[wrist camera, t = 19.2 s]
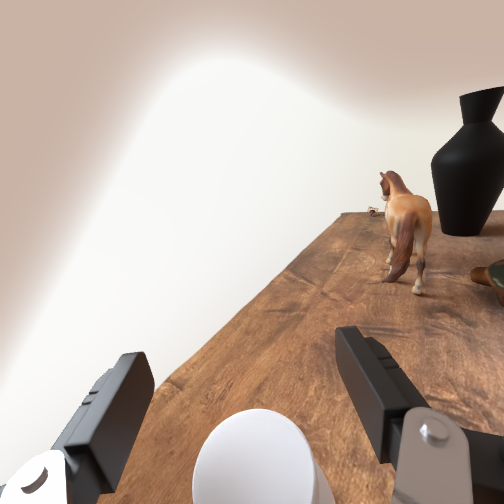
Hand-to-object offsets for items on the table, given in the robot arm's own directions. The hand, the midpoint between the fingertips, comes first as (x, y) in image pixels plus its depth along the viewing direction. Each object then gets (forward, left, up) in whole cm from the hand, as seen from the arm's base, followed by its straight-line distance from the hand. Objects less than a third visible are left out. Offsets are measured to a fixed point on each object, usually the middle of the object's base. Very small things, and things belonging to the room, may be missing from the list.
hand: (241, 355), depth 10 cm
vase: (+79, +28, -19) cm, 86 cm away
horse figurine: (+43, +25, -19) cm, 54 cm away
